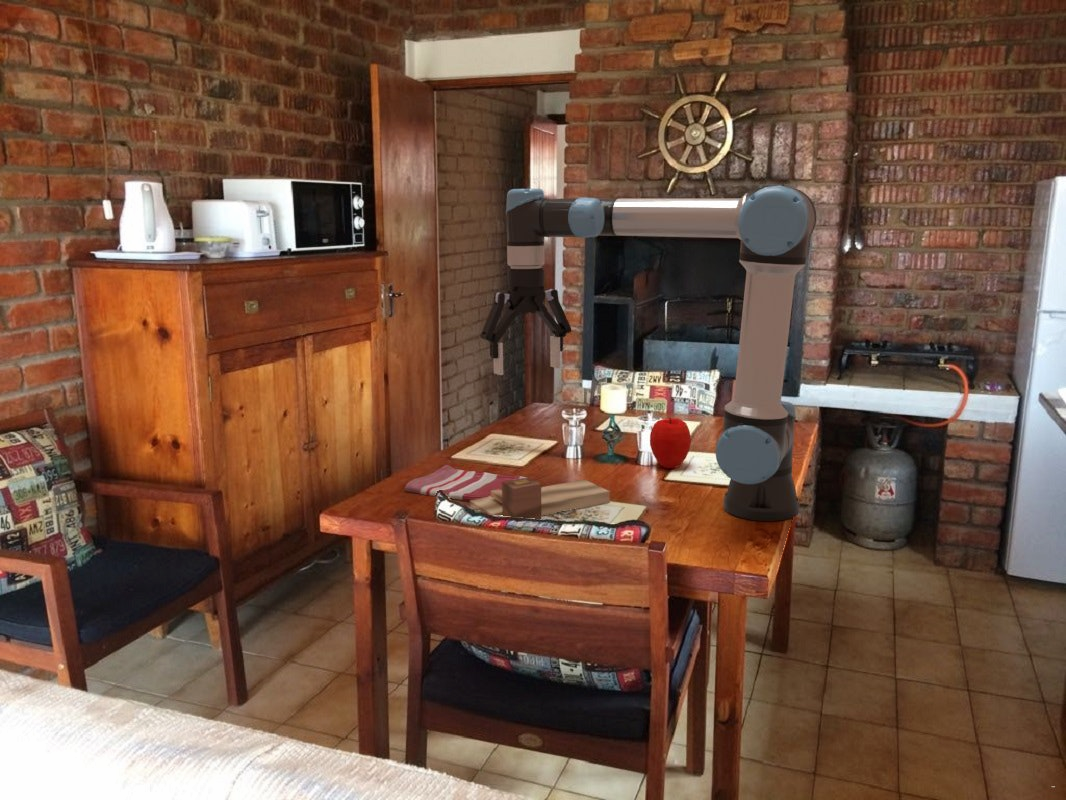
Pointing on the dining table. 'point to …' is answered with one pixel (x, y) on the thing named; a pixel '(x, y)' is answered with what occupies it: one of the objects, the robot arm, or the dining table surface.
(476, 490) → the dish towel
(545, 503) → the board
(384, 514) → the dining table surface
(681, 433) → the apple
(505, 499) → the brown wooden block
